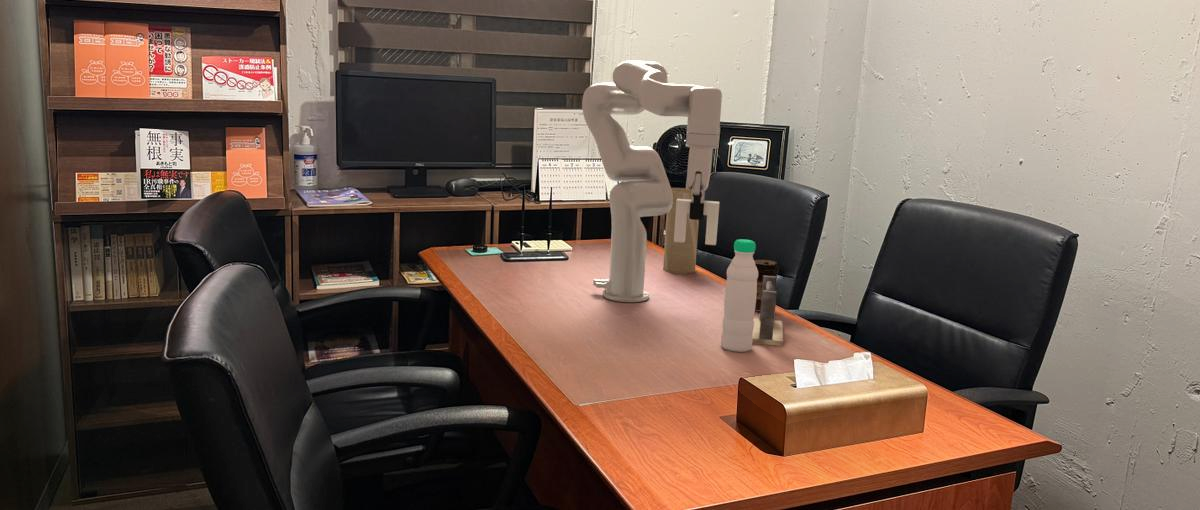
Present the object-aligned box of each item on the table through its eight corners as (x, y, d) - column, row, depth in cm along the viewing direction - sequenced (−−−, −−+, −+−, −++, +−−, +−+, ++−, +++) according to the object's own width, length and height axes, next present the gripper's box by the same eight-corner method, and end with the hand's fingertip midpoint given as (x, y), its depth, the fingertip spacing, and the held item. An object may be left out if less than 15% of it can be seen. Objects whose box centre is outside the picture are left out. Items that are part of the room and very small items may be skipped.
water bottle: (717, 342, 203) (726, 237, 197) (747, 343, 203) (756, 237, 198) (724, 352, 196) (733, 243, 190) (755, 353, 196) (765, 244, 191)
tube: (700, 269, 275) (706, 190, 269) (686, 275, 267) (691, 194, 261) (672, 264, 280) (677, 187, 275) (657, 269, 272) (662, 190, 266)
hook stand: (747, 342, 204) (752, 290, 201) (749, 322, 220) (753, 274, 217) (782, 346, 202) (787, 294, 200) (781, 325, 219) (786, 277, 216)
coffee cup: (775, 315, 228) (779, 266, 225) (742, 312, 229) (747, 263, 226) (775, 306, 236) (779, 259, 233) (744, 303, 238) (748, 256, 235)
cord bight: (673, 241, 209) (676, 200, 207) (674, 239, 212) (677, 198, 210) (715, 245, 208) (718, 203, 205) (716, 242, 210) (719, 201, 208)
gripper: (689, 137, 213) (684, 211, 217) (683, 142, 197) (677, 222, 201) (720, 139, 212) (714, 214, 216) (716, 144, 196) (710, 225, 200)
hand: (696, 217), depth 208 cm, fingers closed on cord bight, 2 cm apart
